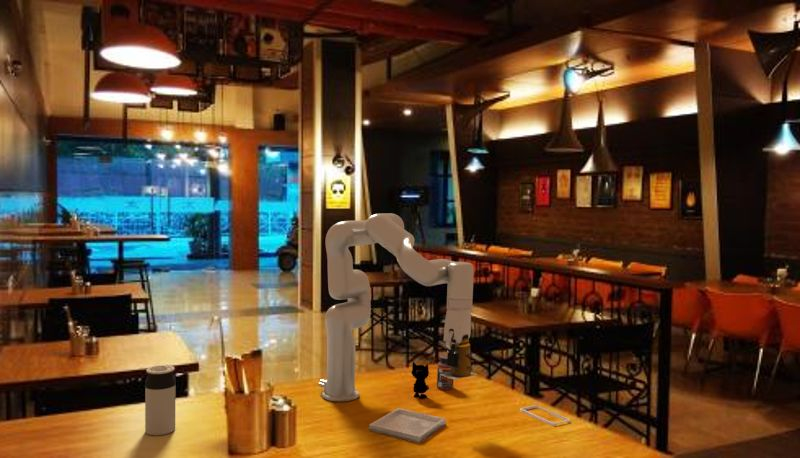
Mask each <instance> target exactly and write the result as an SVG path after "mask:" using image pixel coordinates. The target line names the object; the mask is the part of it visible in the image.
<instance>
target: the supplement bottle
mask: <svg viewBox="0 0 800 458" xmlns="http://www.w3.org/2000/svg"><path fill="white" fill-rule="evenodd" d="M447 357H448V355H440V361H438V363H437V368H436V369H437V370H436V371H437V373H436V387H437V389H438V390H442V391H450V390H452V389H453V388H454V380H455V379H451V378H448V377H445V376H442V375H440V374H444V373H448V372H451V366H448V365H447Z"/></svg>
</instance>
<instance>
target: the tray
mask: <svg viewBox="0 0 800 458" xmlns="http://www.w3.org/2000/svg"><path fill="white" fill-rule="evenodd" d="M446 420H447V419H446V417H445V418H444V417H440V416H435V415H430V414H427V413H421V412H417V411H412V410H410V409H409V410H408V409H405V408H404V409H403V408H400V407H398V408H396V409H393V410H392V411H390V412H389V413H387V414H386V415H384V416H382V417H380V418H379V419H377V420H374V421H373V422H371V423H370V424H369V425H368V426H369V432H373V433H377V434H382V435H385V436H388V437H389V436H390V437H393V438H397V439H402V440H405V441H410V442H414V443H417V444H421V443H423V442H424V441H425V440H426V439H428V438H429V437H430V436H432V435H433V434H434V433H436V432H437V431H439V430H440V429H442V428H443V427H444V426H446V425H447V424H446V423H447V422H446Z"/></svg>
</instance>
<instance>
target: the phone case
mask: <svg viewBox="0 0 800 458" xmlns="http://www.w3.org/2000/svg"><path fill="white" fill-rule="evenodd" d="M532 409H539V410H544V411H546V412H548V414H550V415H552V416H553V417H556V418H560V419H562V420H561V421H557V422H553V421H550V420H547V419H546V418H543V417H542V416H539V415H536V414H534V413H532V412H531V411H528V410H532ZM519 410H520V412H521V413H523V414H525V415H528V416H530V417H532V418H534V419H537V420H539V421H541V422H543V423H545V424H547V425H550V426H551V427H557V426H558V424H562V423H567V424H568V423H569V424H570V421H571V420H570V418H568V417H565V416H563V415H561V414H558V413H556V412H554V411H551V410H549V409H547V408H544V407H543V406H539V405H536V404H534V405H529V406H525V407H520V409H519Z"/></svg>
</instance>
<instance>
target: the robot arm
mask: <svg viewBox="0 0 800 458" xmlns="http://www.w3.org/2000/svg"><path fill="white" fill-rule="evenodd" d="M404 223H405V222H404V221H403V219H402V217H400V216H399V215H397V214H395V213H392V212H391V213H375V214H372V215H370V216H369V217H368V218H367V219H365V220H360V219H359V220H344V221H343V220H342V221H339V222H336V223H335V224H333V225H332V226H331V227H330V228H329V229H328V230H327V233H326V234H325V235H326V236H325V251H326V259H327V284H328V285H327V287H328V294H329V296H330V297H331V298H332V299H334V300H339V301H340V300H341V301H342V300H347V301H346V302H342V303H337V304H334V305H331V307H329V308H328V309H327V311H326V313H325V315H324V324H325V330H326V331H325V332H326V346H327V347H326V348H327V349H326V350H327V351H326V354H327V355H326V360H327V361H326V379H323V378H321V379H320V380H319V382H318V383H317V386H318V387H321V388H323V391H321V397H322V398H323V399H324V400H326V401H330V402H340V403H341V402H351V401H354V400H356V399H357V398H359V397H360V391H359V390H357V389H356V388H355V385H356V383H355V382H356V377H355V376H356V374H355V373H356V340H355V338H354V334H353V330H356V329H359V328H363V327H365V326H366V325H367V324H368V323H369V321H370V319H371V313H372V311H371V310H372V308H371V307H372V305H371V284H370V280H369V277H368V275H367V274H366V273H365V272H364V271H362V270H361V269H354V266H353V265H354V260H353V256H352V253H351V251H350V249H349V248H350V247H357V246H358V247H359V246H369V245H373V244H379V245H380V246H381V247H382V248H384V249H386V250H387V252H389V253H391V254H392V255H393V256H394V257H395V258H396V261H397V263H398V264H399V266H400V268H401V270H403V272H404V273H405V274H406V275H407V276H409V277H410V279H411V278H412V279H413V280H414V281H415V282H417V283H418V284H420V285H423V286H425V287H433V286H437V285H442V284H447V289H446V291H447V292H446V294H447V295H446V314H445V320H444V329H443V330H444V331H443V342H444V343H445V346H446V350H447V351H446V353H447V356H448V357H447V365H448V366H452V367H458V353H457V351H458V345H459V344H460V343H461V342H462V338H463V336H465V335H467V334H468V336H469V339H470V337H471V333H472V332H471V330H472V316H471V315H472V313H471V312H472V310H473V296H474V294H473V293H474V275H475V274H474V273H475V272H474V271H475V270H474V265H473V264H472V263H470V262H466V261H454V260H450V259H446V258H439V259H430V260H428V259H427V258H426V257H424V256H423V255H421V254H420V253H418V252H417V251H416V250H415V249H414V245H415V242H416V241H415V237H414V235H413V234H412V233H410V232H409V231H407V230H406V229H405V224H404ZM452 340H453V341H456V343H455V342H452ZM452 345H455V348H454V346H452Z"/></svg>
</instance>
